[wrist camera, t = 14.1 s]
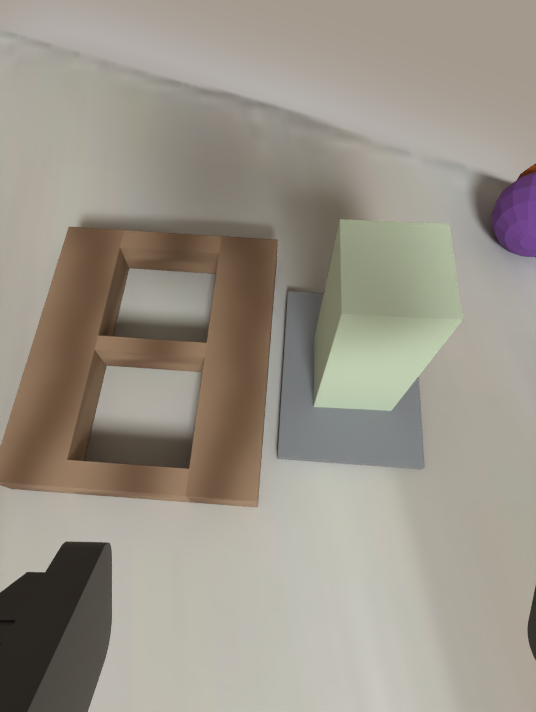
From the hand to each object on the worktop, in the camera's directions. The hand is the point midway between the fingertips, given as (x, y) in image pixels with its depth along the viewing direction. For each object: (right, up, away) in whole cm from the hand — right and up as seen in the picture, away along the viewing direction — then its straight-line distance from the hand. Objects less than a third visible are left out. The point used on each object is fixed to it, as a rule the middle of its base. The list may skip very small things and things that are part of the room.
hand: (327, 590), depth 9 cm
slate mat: (+4, +3, +23) cm, 24 cm away
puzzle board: (-9, +4, +24) cm, 26 cm away
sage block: (+4, +3, +23) cm, 23 cm away
